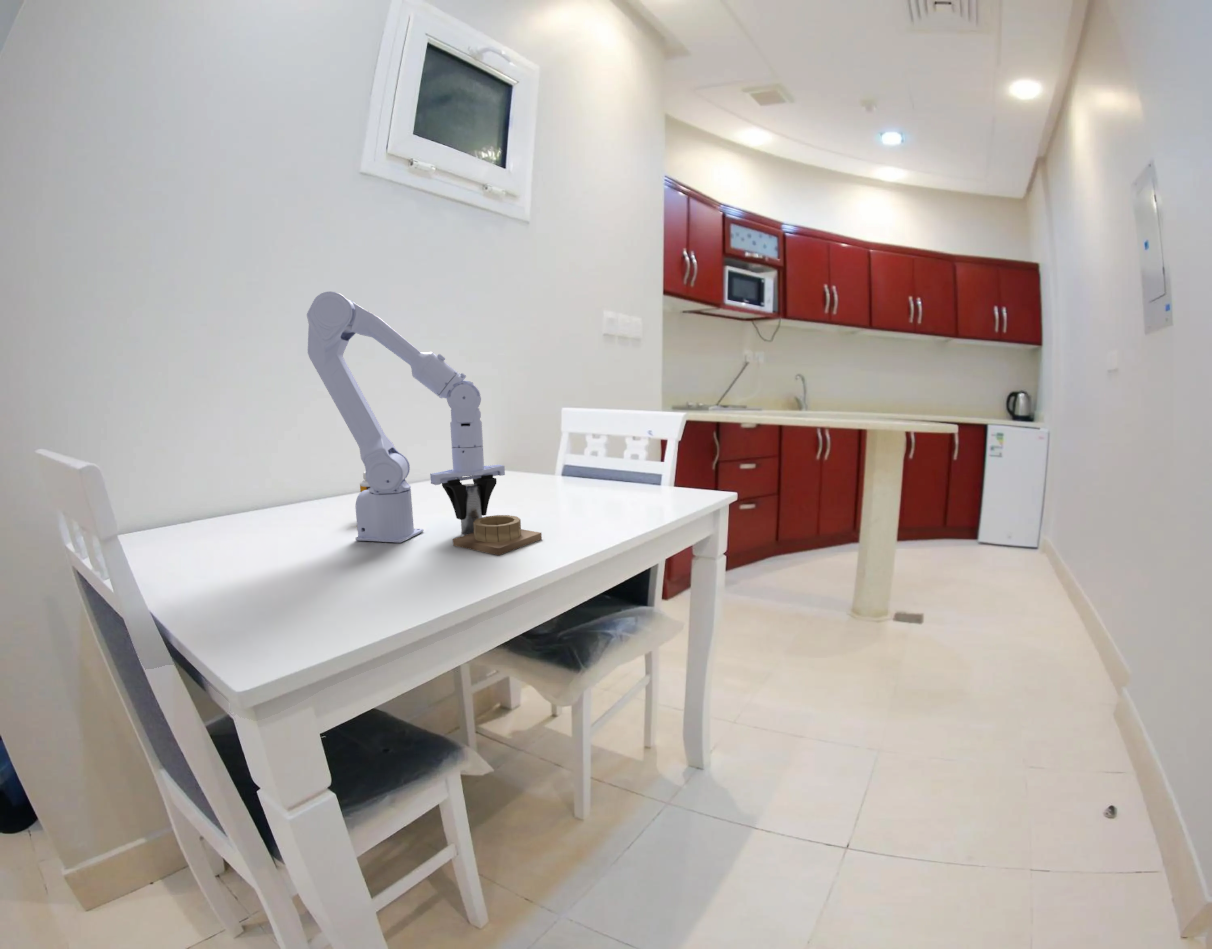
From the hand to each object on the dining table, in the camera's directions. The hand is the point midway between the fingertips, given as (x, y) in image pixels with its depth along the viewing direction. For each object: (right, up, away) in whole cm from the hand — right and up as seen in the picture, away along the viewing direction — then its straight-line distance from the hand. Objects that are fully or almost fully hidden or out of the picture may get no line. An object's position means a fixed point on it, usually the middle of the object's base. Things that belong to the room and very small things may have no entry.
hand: (471, 516), depth 107 cm
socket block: (+6, -4, -7) cm, 10 cm away
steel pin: (0, -3, +1) cm, 3 cm away
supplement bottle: (-23, -2, +12) cm, 26 cm away
